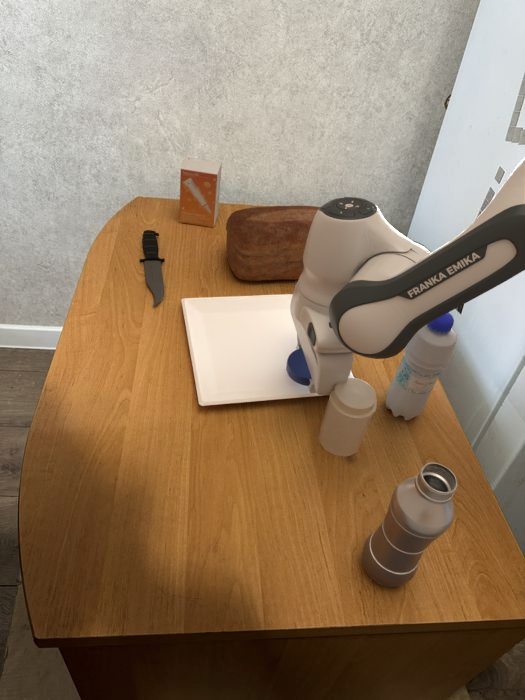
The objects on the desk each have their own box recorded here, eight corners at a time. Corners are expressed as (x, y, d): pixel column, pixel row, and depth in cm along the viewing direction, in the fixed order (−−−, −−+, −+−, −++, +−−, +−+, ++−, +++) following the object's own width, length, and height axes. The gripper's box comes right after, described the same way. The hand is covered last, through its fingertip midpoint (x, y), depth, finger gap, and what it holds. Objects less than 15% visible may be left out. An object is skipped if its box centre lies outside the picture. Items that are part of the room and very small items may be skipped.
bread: (218, 250, 114) (222, 198, 105) (339, 245, 121) (351, 196, 113) (232, 289, 104) (237, 235, 96) (362, 281, 112) (377, 230, 103)
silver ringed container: (368, 532, 69) (417, 439, 56) (417, 561, 67) (479, 471, 54) (349, 573, 65) (396, 483, 52) (400, 604, 63) (463, 519, 49)
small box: (179, 223, 120) (179, 168, 111) (184, 209, 125) (185, 156, 116) (214, 228, 120) (217, 174, 111) (218, 214, 125) (222, 161, 116)
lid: (277, 366, 86) (278, 359, 85) (308, 349, 90) (310, 342, 89) (306, 393, 83) (308, 385, 81) (338, 374, 86) (340, 367, 85)
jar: (358, 423, 83) (376, 377, 76) (363, 458, 78) (382, 413, 71) (317, 419, 82) (330, 373, 75) (319, 454, 78) (334, 408, 71)
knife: (171, 302, 97) (143, 303, 95) (171, 309, 98) (144, 310, 96) (160, 229, 114) (136, 229, 113) (160, 236, 115) (136, 236, 114)
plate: (358, 399, 87) (361, 390, 85) (198, 413, 80) (199, 404, 79) (313, 300, 105) (315, 292, 103) (180, 306, 99) (181, 297, 97)
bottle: (387, 424, 83) (429, 329, 70) (376, 392, 88) (414, 298, 75) (427, 424, 84) (476, 331, 71) (414, 393, 89) (458, 299, 76)
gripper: (288, 263, 83) (276, 329, 93) (320, 353, 69) (302, 420, 78) (326, 263, 85) (310, 328, 94) (366, 351, 70) (343, 417, 80)
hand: (307, 370), depth 86 cm, fingers closed on lid, 7 cm apart
